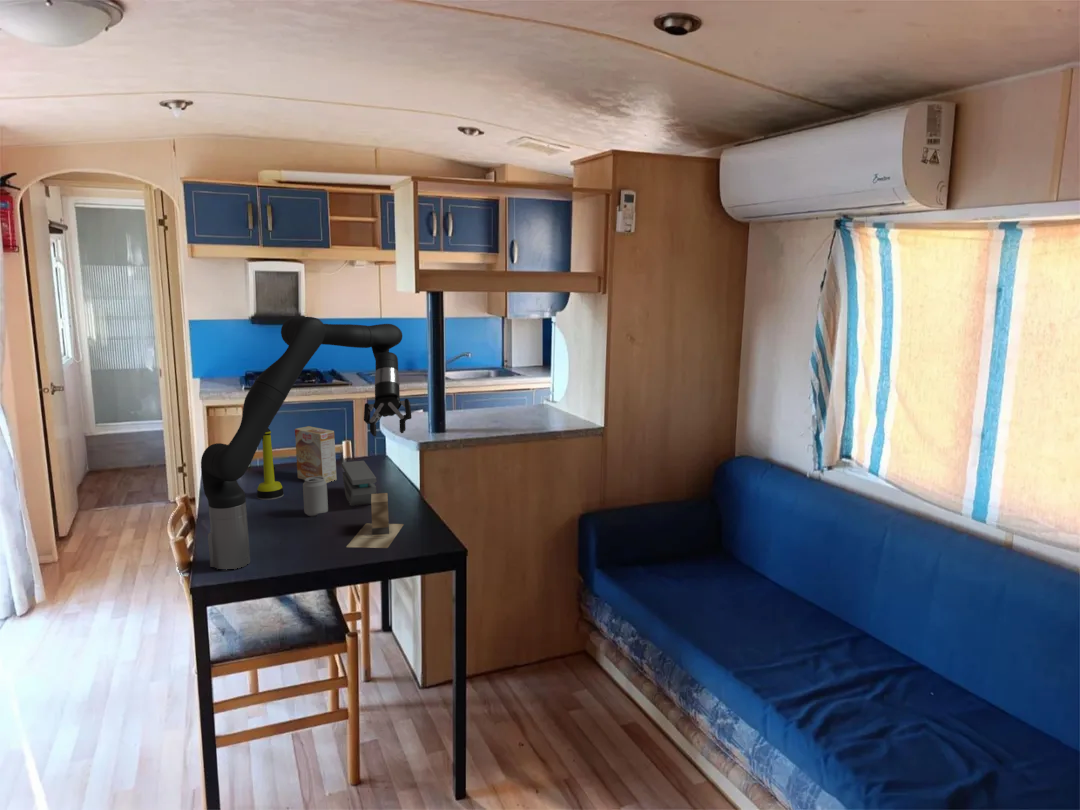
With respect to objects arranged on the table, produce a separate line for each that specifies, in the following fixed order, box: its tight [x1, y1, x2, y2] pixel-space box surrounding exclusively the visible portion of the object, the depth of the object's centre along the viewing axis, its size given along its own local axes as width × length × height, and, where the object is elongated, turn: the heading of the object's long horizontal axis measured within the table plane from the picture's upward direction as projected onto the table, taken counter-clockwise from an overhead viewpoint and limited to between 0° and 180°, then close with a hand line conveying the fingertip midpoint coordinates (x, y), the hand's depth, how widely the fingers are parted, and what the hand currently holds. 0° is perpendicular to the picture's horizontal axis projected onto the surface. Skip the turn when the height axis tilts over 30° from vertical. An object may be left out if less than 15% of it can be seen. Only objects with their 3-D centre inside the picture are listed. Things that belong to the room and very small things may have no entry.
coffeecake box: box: [294, 425, 338, 484], centre depth 279 cm, size 15×7×20 cm, turn 55°
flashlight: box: [256, 427, 285, 501], centre depth 258 cm, size 25×9×9 cm
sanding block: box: [370, 492, 390, 535], centre depth 222 cm, size 5×9×10 cm, turn 12°
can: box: [302, 476, 329, 517], centre depth 240 cm, size 8×8×12 cm
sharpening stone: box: [341, 460, 377, 507], centre depth 254 cm, size 25×8×11 cm, turn 23°
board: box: [345, 522, 405, 549], centre depth 218 cm, size 12×20×1 cm, turn 177°
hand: (387, 433), depth 223 cm, fingers open, 8 cm apart
